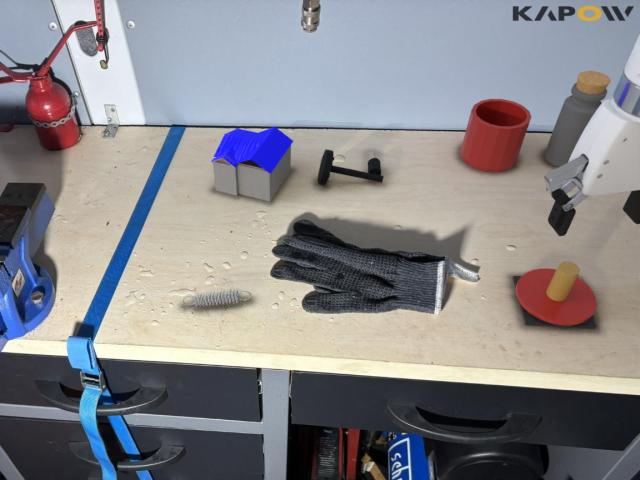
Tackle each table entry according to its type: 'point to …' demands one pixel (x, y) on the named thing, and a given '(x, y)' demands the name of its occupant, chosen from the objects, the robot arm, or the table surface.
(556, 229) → the robot arm
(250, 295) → the spring
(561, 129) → the bottle
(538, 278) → the tin lid
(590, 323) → the mat
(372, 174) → the light fixture
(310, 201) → the table surface
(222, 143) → the house
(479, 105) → the tin
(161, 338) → the table surface
